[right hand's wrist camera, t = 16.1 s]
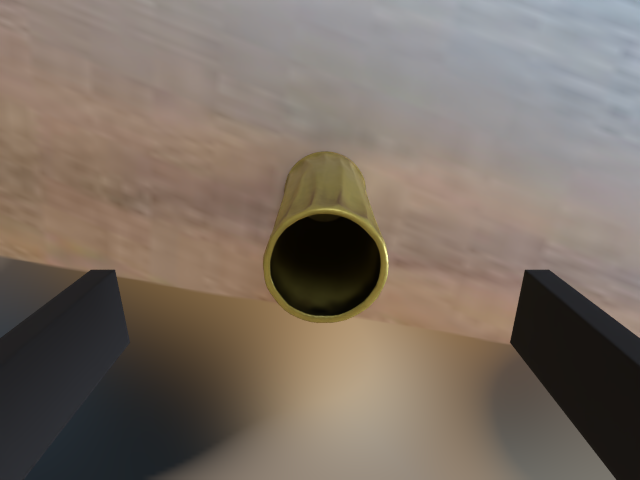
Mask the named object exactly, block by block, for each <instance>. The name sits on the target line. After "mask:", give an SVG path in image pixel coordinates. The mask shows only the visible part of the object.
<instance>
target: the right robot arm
mask: <svg viewBox="0 0 640 480" xmlns="http://www.w3.org/2000/svg"><path fill="white" fill-rule="evenodd" d="M129 343H130V341H129V336H128V331H127V326H126V321H125V316H124V311H123V307H122V302H121V297H120V292H119V287H118V282H117V277H116V272H115V270H90V271H89V272H87V273H86V274H85V275H84V276H82V277H81V278H80V279H78V280H77V281H76V282H74V283H73V284H72V285H70V286H69V287H68V288H66V289H65V290H64V291H62V292H61V293H60V294H58V295H57V296H56V297H54V298H53V299H52V300H50V301H49V302H48V303H46V304H45V305H44V306H42V307H41V308H40V309H38V310H37V311H36V312H34V313H33V314H32V315H30V316H29V317H28V318H26V319H25V320H24V321H22V322H21V323H20V324H19V325H17V326H16V327H15V328H13V329H12V330H11V331H9V332H8V333H7V334H5V335H4V336H3V337H1V338H0V480H24V478H25V477H26V476H27V475H28V473H29V472H30V471H31V469H32V468H33V467H34V465H35V464H36V463H37V462H38V460H39V459H40V458H41V456H42V455H43V454H44V453H45V451H46V450H47V449H48V447H49V446H50V445H51V444H52V442H53V441H54V440H55V438H56V437H57V436H58V435H59V433H60V432H61V431H62V429H63V428H64V427H65V426H66V424H67V423H68V422H69V420H70V419H71V418H72V416H73V415H74V414H75V413H76V411H77V410H78V409H79V407H80V406H81V405H82V404H83V402H84V401H85V400H86V398H87V397H88V396H89V395H90V393H91V392H92V391H93V389H94V388H95V387H96V385H97V384H98V383H99V382H100V380H101V379H102V378H103V376H104V375H105V374H106V373H107V371H108V370H109V369H110V367H111V366H112V365H113V364H114V362H115V361H116V360H117V358H118V357H119V356H120V355H121V353H122V352H123V351H124V349H125V348H126V347H127V346H128V344H129ZM510 343H511V344H512V346H513V347H514V348H515V349H516V351H517V352H518V353H519V355H520V356H521V357H522V358H523V360H524V361H525V362H526V364H527V365H528V366H529V367H530V369H531V370H532V371H533V373H534V374H535V375H536V376H537V378H538V379H539V380H540V382H541V383H542V384H543V386H544V387H545V388H546V389H547V391H548V392H549V393H550V395H551V396H552V397H553V398H554V400H555V401H556V402H557V404H558V405H559V406H560V407H561V409H562V410H563V411H564V413H565V414H566V415H567V417H568V418H569V419H570V420H571V422H572V423H573V424H574V425H575V427H576V428H577V429H578V431H579V432H580V433H581V435H582V436H583V437H584V438H585V440H586V441H587V442H588V444H589V445H590V446H591V447H592V449H593V450H594V451H595V453H596V454H597V455H598V456H599V458H600V459H601V460H602V462H603V463H604V464H605V466H606V467H607V468H608V469H609V471H610V472H611V473H612V475H613V476H614V477H615V478H616V480H640V338H639V337H637V336H636V335H635V334H633V333H632V332H631V331H629V330H628V329H627V328H625V327H624V326H623V325H621V324H620V323H619V322H618V321H616V320H615V319H614V318H612V317H611V316H610V315H608V314H607V313H606V312H604V311H603V310H602V309H600V308H599V307H598V306H596V305H595V304H594V303H592V302H591V301H590V300H588V299H587V298H586V297H584V296H583V295H582V294H580V293H579V292H578V291H576V290H575V289H574V288H572V287H571V286H570V285H568V284H567V283H566V282H564V281H563V280H562V279H560V278H559V277H558V276H556V275H555V274H554V273H553V272H551V271H550V270H525V272H524V277H523V282H522V287H521V292H520V297H519V302H518V307H517V311H516V316H515V321H514V326H513V331H512V336H511V341H510Z"/></svg>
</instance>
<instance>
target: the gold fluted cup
mask: <svg viewBox="0 0 640 480" xmlns="http://www.w3.org/2000/svg"><path fill="white" fill-rule="evenodd" d="M263 269H264V278H265V282H266V286H267V288H268V290H269V292H270V293H271V295H272V296H273V297H274V299H275V300H276V301H277V302H278V304H279V305H280V306H281V307H282V308H283V309H284V310H285V311H287V312H288V313H290V314H291V315H293V316H295V317H297V318H300V319H302V320H306V321H309V322H316V323H333V322H339V321H343V320H347V319H349V318H351V317H354V316H355V315H357V314H359V313H361V312H362V311H364V310H365V309H367V308H368V307H369V306H370V305H371V304H372V303H373V302H374V301H375V300H376V299H377V298H378V296H379V294H380V292H381V290H382V289H383V286H384V284H385V282H386V279H387V275H388V255H387V249H386V244H385V242H384V239H383V237H382V235H381V232H380V230H379V228H378V225H377V223H376V220H375V218H374V215H373V212H372V209H371V206H370V203H369V200H368V197H367V194H366V188H365V181H364V178H363V176H362V174H361V172H360V170H359V169H358V167H357V166H356V165H355V164H354V163H353V162H352V161H351V160H350V159H348V158H347V157H345V156H343V155H340V154H338V153H334V152H317V153H313V154H310V155H308V156H306V157H304V158H302V159H301V160H300V161H298V162H297V163H296V164H295V166H294V167H293V168H292V169H291V171H290V172H289V174H288V177H287V180H286V184H285V190H284V197H283V200H282V203H281V206H280V210H279V213H278V216H277V219H276V222H275V225H274V229H273V232H272V234H271V236H270V239H269V241H268V244H267V247H266V250H265V253H264V257H263Z"/></svg>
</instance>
